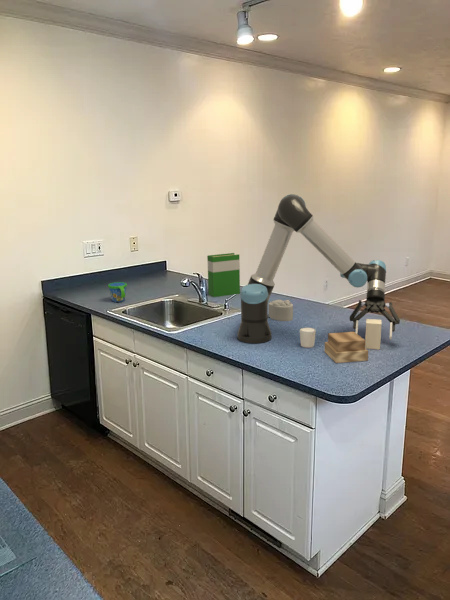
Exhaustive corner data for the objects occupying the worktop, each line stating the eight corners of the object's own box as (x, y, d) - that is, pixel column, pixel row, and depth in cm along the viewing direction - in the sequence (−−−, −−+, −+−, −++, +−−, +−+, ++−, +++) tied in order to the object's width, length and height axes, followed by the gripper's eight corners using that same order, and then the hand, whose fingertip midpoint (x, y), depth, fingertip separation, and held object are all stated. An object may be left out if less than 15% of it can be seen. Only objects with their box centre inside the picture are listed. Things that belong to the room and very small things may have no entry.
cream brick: (364, 348, 206) (366, 323, 203) (365, 343, 212) (366, 318, 209) (379, 349, 204) (381, 324, 202) (379, 344, 210) (381, 319, 207)
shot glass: (304, 341, 216) (304, 326, 214) (318, 344, 212) (319, 329, 210) (296, 345, 211) (296, 330, 209) (310, 349, 206) (310, 333, 205)
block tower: (335, 363, 191) (336, 343, 189) (324, 351, 204) (324, 332, 202) (367, 360, 193) (368, 341, 191) (354, 349, 205) (355, 330, 203)
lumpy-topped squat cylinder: (281, 313, 259) (281, 297, 257) (298, 319, 249) (298, 302, 247) (265, 316, 254) (265, 300, 252) (281, 322, 243) (281, 305, 241)
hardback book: (234, 291, 309) (233, 252, 303) (239, 293, 303) (239, 254, 297) (208, 294, 301) (207, 255, 295) (213, 297, 295) (212, 257, 289)
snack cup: (131, 302, 287) (130, 285, 284) (113, 305, 282) (112, 287, 280) (123, 297, 300) (122, 280, 298) (106, 299, 296) (104, 282, 293)
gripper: (405, 298, 215) (404, 343, 205) (346, 295, 222) (342, 338, 212) (407, 289, 208) (406, 334, 198) (346, 287, 216) (342, 330, 206)
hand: (373, 336), depth 205 cm, fingers open, 13 cm apart
